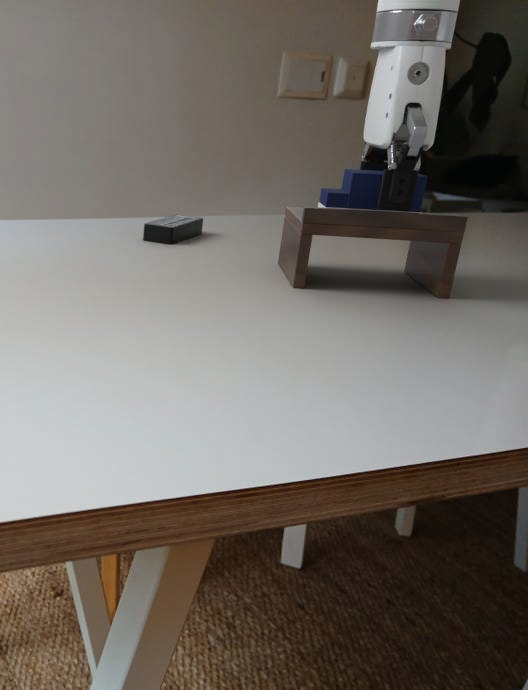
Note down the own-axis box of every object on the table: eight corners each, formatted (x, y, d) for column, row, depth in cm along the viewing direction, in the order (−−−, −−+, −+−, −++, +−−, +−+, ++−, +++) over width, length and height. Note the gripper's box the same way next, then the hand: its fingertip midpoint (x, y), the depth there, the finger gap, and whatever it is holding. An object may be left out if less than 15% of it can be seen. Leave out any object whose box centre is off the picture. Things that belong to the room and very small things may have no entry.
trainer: (408, 217, 83) (417, 172, 82) (420, 224, 79) (430, 176, 78) (316, 212, 85) (323, 167, 83) (324, 218, 81) (331, 171, 79)
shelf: (414, 272, 89) (429, 200, 86) (449, 298, 78) (468, 216, 75) (277, 263, 91) (287, 192, 88) (292, 287, 80) (305, 207, 77)
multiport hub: (141, 239, 102) (143, 223, 102) (175, 229, 111) (176, 214, 110) (170, 244, 100) (172, 227, 99) (202, 233, 109) (204, 217, 108)
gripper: (485, 27, 67) (444, 217, 73) (424, 40, 83) (394, 194, 89) (398, 25, 68) (364, 213, 74) (354, 38, 84) (329, 191, 90)
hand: (381, 203), depth 81 cm, fingers open, 9 cm apart
